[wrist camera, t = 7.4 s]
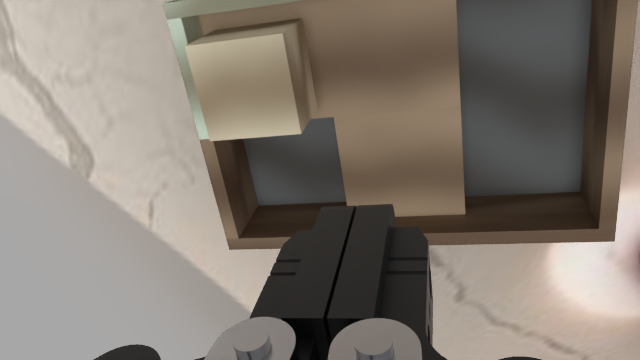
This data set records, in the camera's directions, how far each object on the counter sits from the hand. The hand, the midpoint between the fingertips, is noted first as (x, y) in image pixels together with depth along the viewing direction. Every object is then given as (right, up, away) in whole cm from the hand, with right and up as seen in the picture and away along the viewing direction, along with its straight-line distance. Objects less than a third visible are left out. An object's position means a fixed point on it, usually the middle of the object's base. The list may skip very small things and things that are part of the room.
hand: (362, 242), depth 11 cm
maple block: (-4, +8, +18) cm, 20 cm away
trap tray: (+4, +6, +20) cm, 21 cm away
